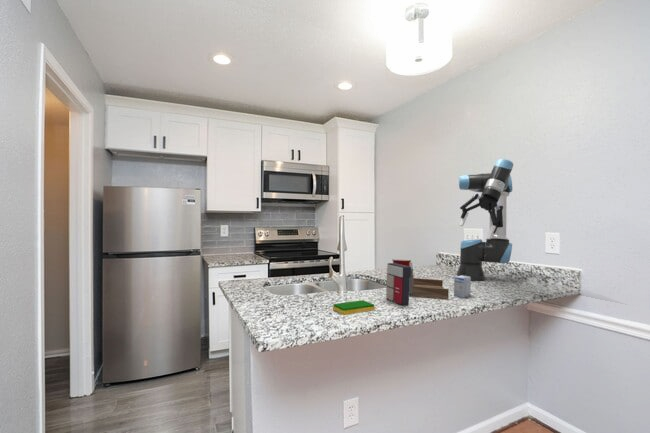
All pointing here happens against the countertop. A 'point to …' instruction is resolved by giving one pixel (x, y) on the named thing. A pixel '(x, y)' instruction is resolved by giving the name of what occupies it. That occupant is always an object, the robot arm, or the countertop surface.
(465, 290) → the medicine box
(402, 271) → the grey and red box
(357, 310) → the dish sponge
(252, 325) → the countertop surface
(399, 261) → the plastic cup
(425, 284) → the wooden tray
